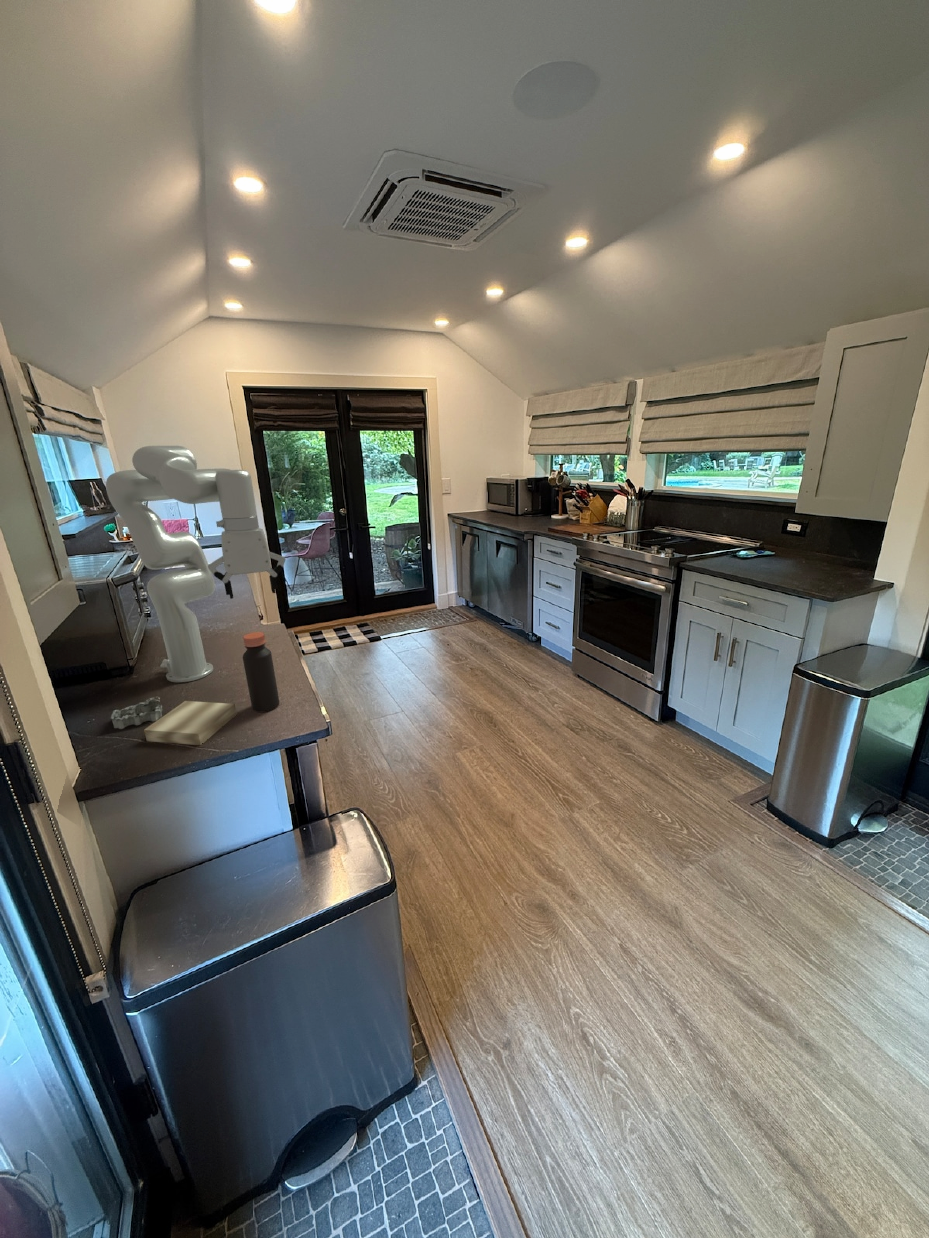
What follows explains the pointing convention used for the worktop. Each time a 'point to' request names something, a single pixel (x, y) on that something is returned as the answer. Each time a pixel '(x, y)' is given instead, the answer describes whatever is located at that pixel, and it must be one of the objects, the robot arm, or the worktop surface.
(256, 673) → the vinegar
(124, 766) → the worktop surface
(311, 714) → the worktop surface
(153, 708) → the egg carton
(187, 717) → the maple base
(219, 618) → the worktop surface
